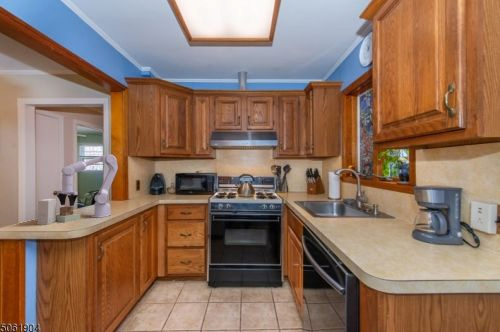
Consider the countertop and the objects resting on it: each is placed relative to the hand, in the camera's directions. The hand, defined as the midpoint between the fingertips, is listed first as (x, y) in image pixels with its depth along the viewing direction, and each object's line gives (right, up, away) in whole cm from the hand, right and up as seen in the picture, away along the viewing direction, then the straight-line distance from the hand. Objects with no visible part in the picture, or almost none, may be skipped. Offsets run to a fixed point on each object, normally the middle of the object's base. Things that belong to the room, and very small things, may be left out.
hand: (67, 205), depth 158 cm
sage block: (0, -10, 0) cm, 10 cm away
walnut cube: (0, -6, 0) cm, 6 cm away
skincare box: (-6, -10, -9) cm, 14 cm away
